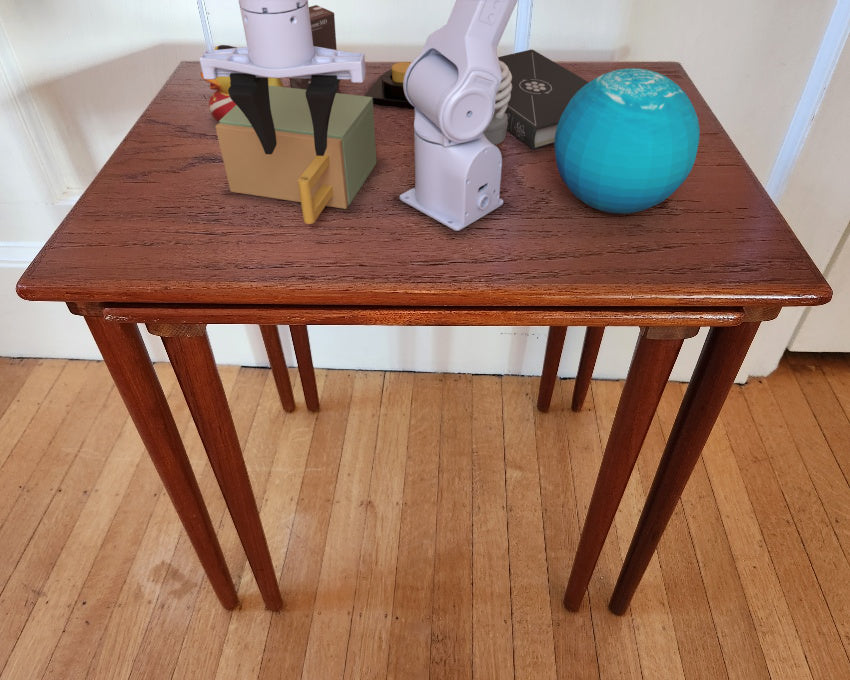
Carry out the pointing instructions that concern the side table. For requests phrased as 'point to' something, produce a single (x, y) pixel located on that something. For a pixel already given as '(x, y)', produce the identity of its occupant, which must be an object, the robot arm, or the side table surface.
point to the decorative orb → (627, 141)
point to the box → (319, 38)
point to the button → (399, 71)
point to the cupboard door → (285, 169)
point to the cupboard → (345, 122)
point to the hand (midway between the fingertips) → (296, 150)
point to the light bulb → (500, 118)
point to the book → (537, 96)
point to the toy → (226, 92)
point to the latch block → (388, 92)
